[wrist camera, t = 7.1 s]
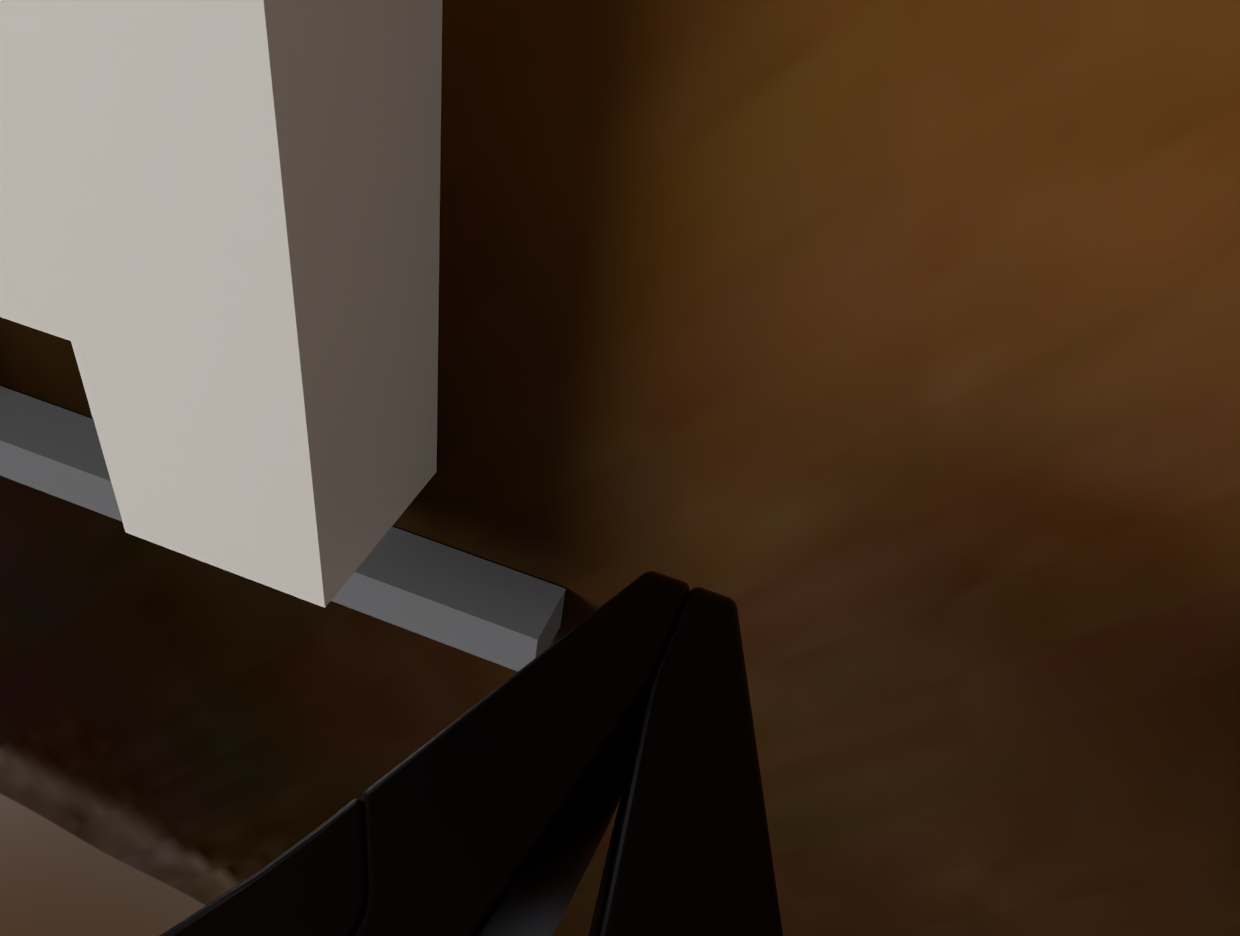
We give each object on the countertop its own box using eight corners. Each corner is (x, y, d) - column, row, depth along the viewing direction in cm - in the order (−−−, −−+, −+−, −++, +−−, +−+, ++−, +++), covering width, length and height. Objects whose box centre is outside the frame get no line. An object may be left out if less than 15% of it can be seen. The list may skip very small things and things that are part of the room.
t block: (445, -287, 11) (231, -305, 8) (436, 471, 19) (324, 607, 16) (-266, -421, 13) (-654, -475, 10) (-11, 318, 21) (-187, 414, 18)
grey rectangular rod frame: (750, -685, 8) (706, -752, 7) (560, 626, 20) (532, 677, 19) (-589, -820, 11) (-767, -884, 10) (-78, 392, 23) (-134, 424, 22)
